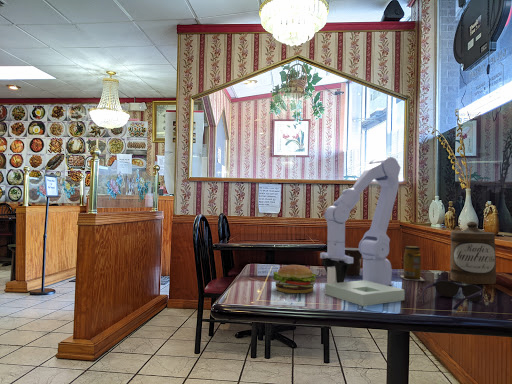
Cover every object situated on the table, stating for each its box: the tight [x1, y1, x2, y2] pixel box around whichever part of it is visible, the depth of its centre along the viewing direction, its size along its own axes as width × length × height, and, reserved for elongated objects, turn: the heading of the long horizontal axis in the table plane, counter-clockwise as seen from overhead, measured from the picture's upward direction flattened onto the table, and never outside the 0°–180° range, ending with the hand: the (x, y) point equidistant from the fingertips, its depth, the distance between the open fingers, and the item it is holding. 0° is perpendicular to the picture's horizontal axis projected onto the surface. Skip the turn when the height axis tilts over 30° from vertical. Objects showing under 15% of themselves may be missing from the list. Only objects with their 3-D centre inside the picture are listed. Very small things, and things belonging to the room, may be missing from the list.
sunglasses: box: [422, 280, 484, 310], centre depth 112 cm, size 14×16×5 cm
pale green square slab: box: [324, 279, 405, 307], centre depth 117 cm, size 16×16×3 cm
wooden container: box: [449, 221, 497, 285], centre depth 147 cm, size 15×15×22 cm
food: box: [273, 264, 318, 295], centre depth 126 cm, size 14×14×8 cm
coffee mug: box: [345, 247, 363, 277], centre depth 156 cm, size 12×9×10 cm
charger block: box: [326, 266, 346, 284], centre depth 131 cm, size 4×4×6 cm
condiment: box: [400, 245, 425, 282], centre depth 150 cm, size 7×8×12 cm
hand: (335, 282), depth 131 cm, fingers closed on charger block, 4 cm apart
